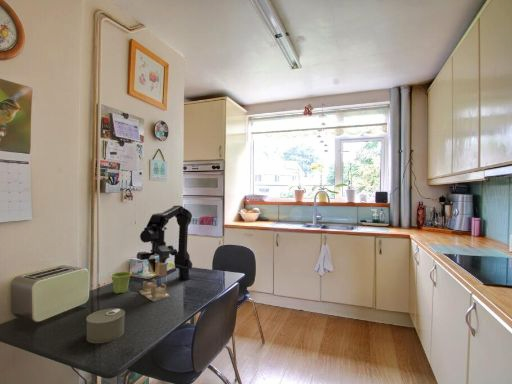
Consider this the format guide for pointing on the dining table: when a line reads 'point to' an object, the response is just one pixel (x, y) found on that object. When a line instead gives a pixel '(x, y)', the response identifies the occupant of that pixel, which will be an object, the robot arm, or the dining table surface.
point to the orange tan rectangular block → (159, 268)
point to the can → (105, 325)
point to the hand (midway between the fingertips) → (157, 271)
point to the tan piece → (154, 291)
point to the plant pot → (120, 281)
